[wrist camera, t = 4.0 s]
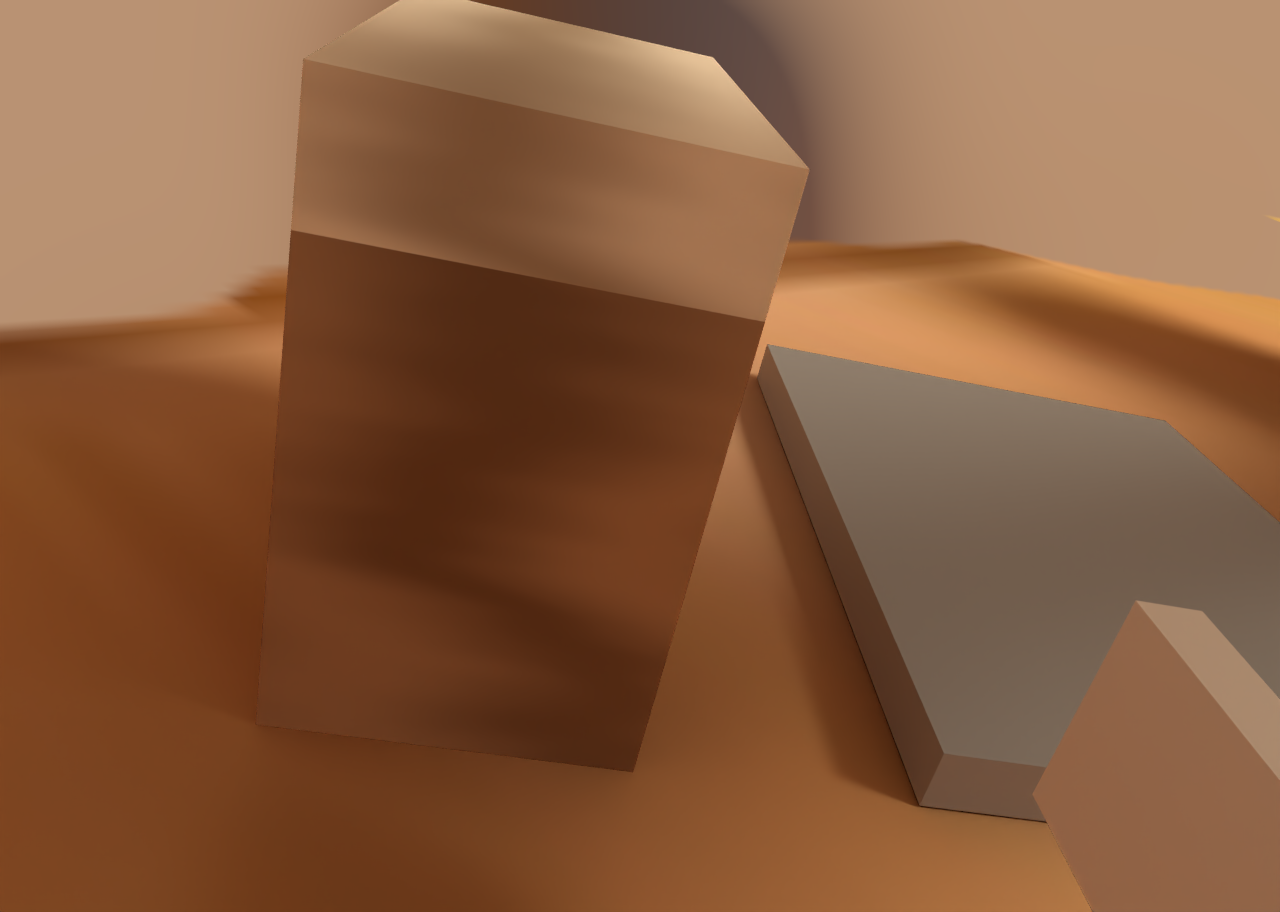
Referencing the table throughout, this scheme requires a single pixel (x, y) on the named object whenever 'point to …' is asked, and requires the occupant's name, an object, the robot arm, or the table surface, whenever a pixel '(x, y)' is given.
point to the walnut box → (507, 375)
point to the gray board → (1007, 556)
